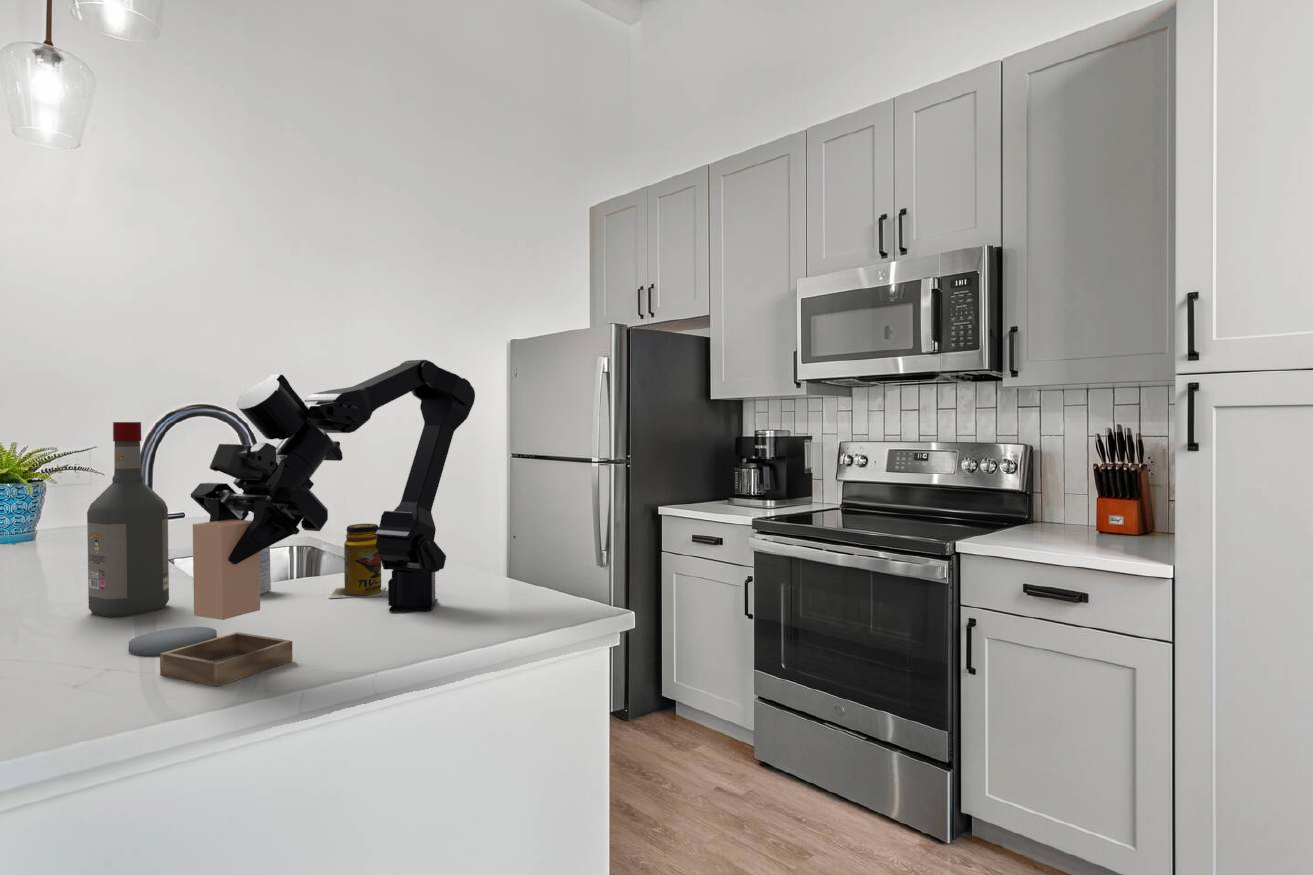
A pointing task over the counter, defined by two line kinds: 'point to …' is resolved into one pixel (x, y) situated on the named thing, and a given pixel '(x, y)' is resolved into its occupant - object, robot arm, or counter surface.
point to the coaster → (169, 640)
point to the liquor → (127, 537)
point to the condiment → (361, 563)
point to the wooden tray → (201, 668)
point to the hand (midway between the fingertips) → (216, 560)
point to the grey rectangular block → (265, 570)
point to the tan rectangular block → (223, 571)
